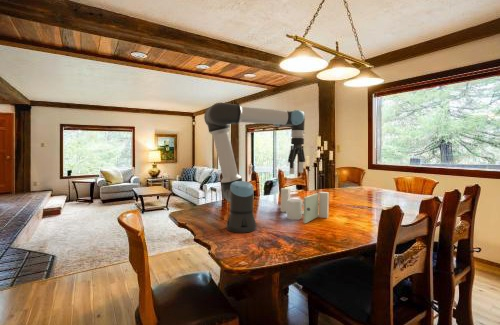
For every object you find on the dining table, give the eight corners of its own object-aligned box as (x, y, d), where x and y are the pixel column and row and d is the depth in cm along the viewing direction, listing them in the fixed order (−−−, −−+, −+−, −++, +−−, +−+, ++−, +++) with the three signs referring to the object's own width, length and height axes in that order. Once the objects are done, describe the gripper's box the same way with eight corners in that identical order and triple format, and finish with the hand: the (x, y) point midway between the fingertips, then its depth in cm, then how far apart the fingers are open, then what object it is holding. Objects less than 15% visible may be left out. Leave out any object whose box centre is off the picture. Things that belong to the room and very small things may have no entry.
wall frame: (280, 211, 173) (281, 188, 172) (282, 210, 175) (283, 188, 175) (326, 218, 157) (327, 193, 156) (328, 217, 160) (329, 192, 159)
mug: (309, 218, 157) (309, 200, 156) (292, 220, 151) (292, 202, 150) (299, 215, 164) (300, 197, 164) (283, 217, 159) (284, 199, 158)
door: (308, 224, 143) (308, 196, 142) (303, 224, 145) (303, 195, 144) (320, 217, 158) (321, 191, 157) (316, 217, 160) (317, 191, 159)
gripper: (295, 136, 146) (294, 175, 147) (310, 138, 167) (309, 172, 168) (282, 136, 150) (281, 174, 151) (299, 138, 171) (298, 171, 172)
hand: (296, 173), depth 160 cm, fingers open, 13 cm apart
